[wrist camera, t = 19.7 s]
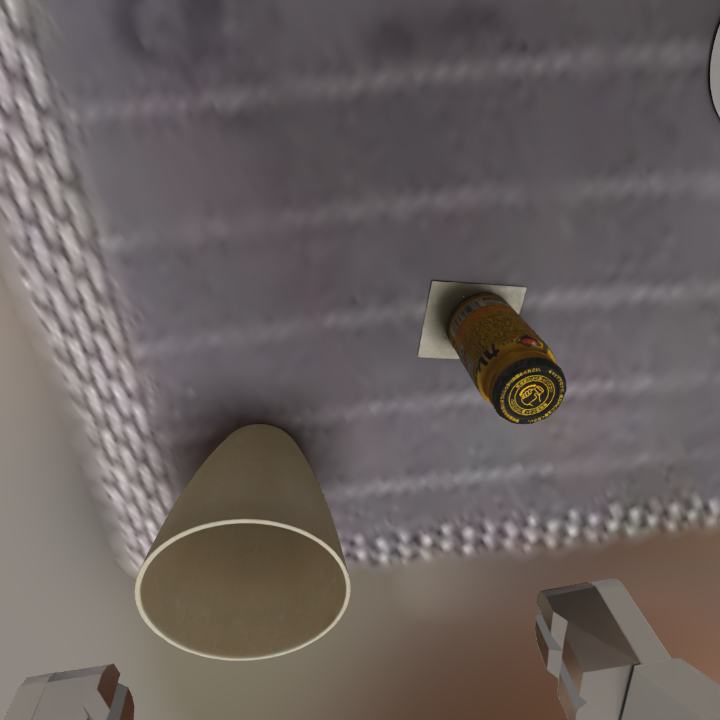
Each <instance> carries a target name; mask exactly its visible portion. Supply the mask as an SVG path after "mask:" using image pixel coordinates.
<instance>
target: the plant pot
mask: <svg viewBox="0 0 720 720" xmlns="http://www.w3.org/2000/svg"><path fill="white" fill-rule="evenodd" d="M350 590H351V589H350V579H349V575H348V571H347V568H346V564H345V560H344V556H343V553H342V549H341V545H340V542H339V538H338V535H337V531H336V528H335V525H334V522H333V519H332V516H331V513H330V510H329V508H328V505H327V502H326V500H325V498H324V495H323V493H322V490H321V488H320V486H319V484H318V481H317V479H316V477H315V475H314V473H313V471H312V469H311V467H310V466H309V464H308V462H307V460H306V458H305V457H304V455H303V453H302V452H301V450H300V449H299V447H298V446H297V444H296V443H295V441H294V440H293V439H292V437H291V436H290V435H288V434H287V433H286V432H285V431H283V430H281V429H279V428H277V427H274V426H271V425H266V424H253V425H247V426H244V427H242V428H239V429H237V430H236V431H234V432H233V433H231V434H230V435H229V436H228V437H227V438H226V439H225V440H224V441H223V442H222V443H221V444H220V445H219V446H218V447H217V448H216V449H215V450H214V451H213V452H212V454H211V455H210V456H209V457H208V458H207V459H206V461H205V462H204V463H203V464H202V466H201V467H200V468H199V469H198V471H197V472H196V473H195V475H194V476H193V478H192V479H191V480H190V482H189V483H188V485H187V486H186V488H185V489H184V491H183V492H182V494H181V495H180V497H179V498H178V500H177V501H176V503H175V505H174V506H173V508H172V509H171V511H170V513H169V515H168V517H167V518H166V520H165V522H164V524H163V526H162V527H161V529H160V531H159V533H158V535H157V537H156V539H155V541H154V543H153V545H152V547H151V548H150V550H149V552H148V554H147V556H146V558H145V560H144V562H143V564H142V566H141V569H140V571H139V573H138V576H137V579H136V584H135V599H136V604H137V607H138V610H139V612H140V614H141V616H142V618H143V619H144V621H145V622H146V623H147V625H148V626H149V627H150V628H151V629H152V630H153V631H154V632H155V633H156V634H158V635H159V636H160V637H162V638H163V639H165V640H166V641H167V642H169V643H170V644H172V645H174V646H176V647H178V648H180V649H182V650H185V651H187V652H191V653H193V654H196V655H199V656H204V657H208V658H214V659H221V660H235V661H236V660H237V661H240V660H241V661H242V660H258V659H265V658H270V657H276V656H280V655H283V654H286V653H290V652H293V651H295V650H298V649H300V648H302V647H304V646H307V645H308V644H310V643H312V642H314V641H315V640H317V639H319V638H320V637H321V636H323V635H324V634H325V633H326V632H328V631H329V630H330V629H331V628H332V627H333V626H334V625H335V624H336V623H337V622H338V621H339V619H340V618H341V616H342V615H343V613H344V611H345V609H346V607H347V604H348V602H349V597H350Z"/></svg>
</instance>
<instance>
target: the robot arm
mask: <svg viewBox="0 0 720 720" xmlns="http://www.w3.org/2000/svg"><path fill="white" fill-rule="evenodd" d="M710 85H711V93H712V98H713V102H714V105H715V108H716V111H717V113H718V115H719V117H720V26H719V28H718V32H717V35H716V38H715V42H714V46H713V51H712V57H711V66H710ZM537 605H538V607H539V609H540V612H541V613H540V614H539V615H538V616H537V617H536V618H535V632H536V638H537V644H538V647H539V650H540V653H541V656H542V658H543V661H544V663H545V666H546V668H547V670H548V671H549V672H551V673H552V674H553V675H555V676H556V677H557V678H558V679H559V683H558V692H557V694H558V697H559V699H560V701H561V703H562V706H563V708H564V710H565V713H566V715H567V717H568V720H720V685H719V684H718V683H716V682H714V681H713V680H712V679H710V678H709V677H707V676H706V675H704V674H703V673H701V672H699V671H698V670H697V669H695V668H694V667H692V666H691V665H689V664H688V663H686V662H685V661H683V660H682V659H680V658H676V659H671V657H670V656H669V654H668V653H667V651H666V650H665V648H664V647H663V645H662V644H661V642H660V641H659V639H658V637H657V636H656V634H655V633H654V631H653V630H652V628H651V627H650V625H649V624H648V622H647V621H646V619H645V618H644V616H643V615H642V613H641V611H640V610H639V608H638V607H637V605H636V604H635V602H634V601H633V599H632V598H631V596H630V595H629V593H628V592H627V590H626V589H625V587H624V586H623V584H622V583H621V582H620V581H618V580H617V579H613V578H612V579H606V580H601V581H596V582H591V583H588V582H586V583H580V584H575V585H570V586H565V587H559V588H554V589H548V590H543V591H540V592H539V593H538V595H537ZM119 677H120V672H119V671H118V670H117V668H116V666H115V665H114V664H108V665H102V666H96V667H89V668H83V669H77V670H70V671H64V672H55V673H49V674H44V675H38V676H32V677H27V678H26V679H25V681H24V682H23V683H22V684H21V686H19V688H18V690H17V692H16V694H15V696H14V698H13V701H12V703H11V705H10V707H9V709H8V711H7V714H6V716H5V718H4V720H134V702H133V697H132V694H131V692H130V690H129V689H128V687H126V686H124V685H121V684H119V683H118V680H119Z"/></svg>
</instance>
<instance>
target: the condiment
mask: <svg viewBox="0 0 720 720" xmlns="http://www.w3.org/2000/svg"><path fill="white" fill-rule="evenodd" d="M526 289H527V288H525V287H513V286H500V285H487V284H468V283H456V282H438V281H432V285H431V290H430V294H429V299H428V304H427V309H426V314H425V320H424V325H423V331H422V337H421V341H420V348H419V353H418V357H425V358H447V359H460V360H461V362H462V363H463V364H464V366H465V368H466V370H467V372H468V373H469V375H470V377H471V379H472V380H473V382H474V383H475V385H476V387H477V389H478V390H479V392H480V393H481V395H482V396H483V397H484V399H485V400H487V401H488V402H490V403H491V404H492V405H493V406H494V408H495V409H496V412H497V413H498V414H499V415H500V416H501V417H502V418H505V419H506V420H508V421H510V422H512V423H516V424H530V423H531V424H532V423H535V422H537V421H540V420H543V419H545V418H547V417H548V416H549V415H551V414H552V413H553V412H554V411H555V410H556V409H557V408H558V407H559V405H560V404H561V402H562V400H563V397H564V395H565V392H566V380H565V377H564V374H563V372H562V370H561V368H560V367H559V366H557V364H556V363H555V360H554V357H553V354H552V352H551V350H550V349H549V348H548V346H547V345H546V344H545V342H544V341H543V340H542V339H540V338H539V336H538V335H537V334H536V333H535V331H534V330H532V329H531V328H530V327H529V325H528V324H527V323H526V322H525V321H524V320H523V319H522V318H521V316H520V315H519V313H520V309H521V307H522V304H523V300H524V296H525V293H526ZM463 296H464V297H463ZM442 334H443V335H444V336H445V337H443V336H442ZM446 337H447V340H446V339H445V338H446Z"/></svg>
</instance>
